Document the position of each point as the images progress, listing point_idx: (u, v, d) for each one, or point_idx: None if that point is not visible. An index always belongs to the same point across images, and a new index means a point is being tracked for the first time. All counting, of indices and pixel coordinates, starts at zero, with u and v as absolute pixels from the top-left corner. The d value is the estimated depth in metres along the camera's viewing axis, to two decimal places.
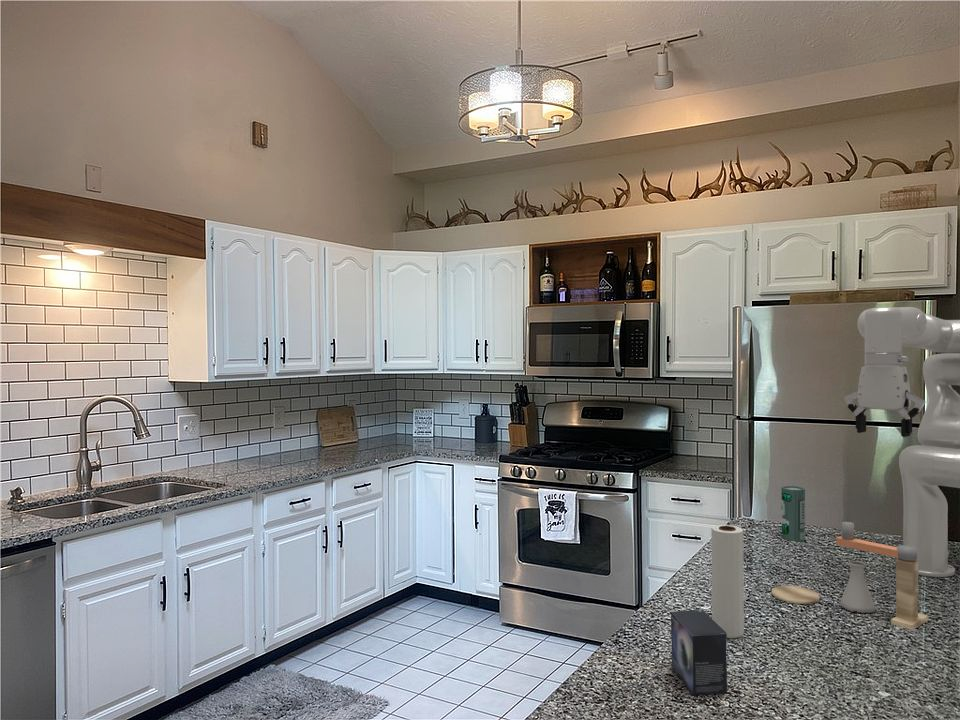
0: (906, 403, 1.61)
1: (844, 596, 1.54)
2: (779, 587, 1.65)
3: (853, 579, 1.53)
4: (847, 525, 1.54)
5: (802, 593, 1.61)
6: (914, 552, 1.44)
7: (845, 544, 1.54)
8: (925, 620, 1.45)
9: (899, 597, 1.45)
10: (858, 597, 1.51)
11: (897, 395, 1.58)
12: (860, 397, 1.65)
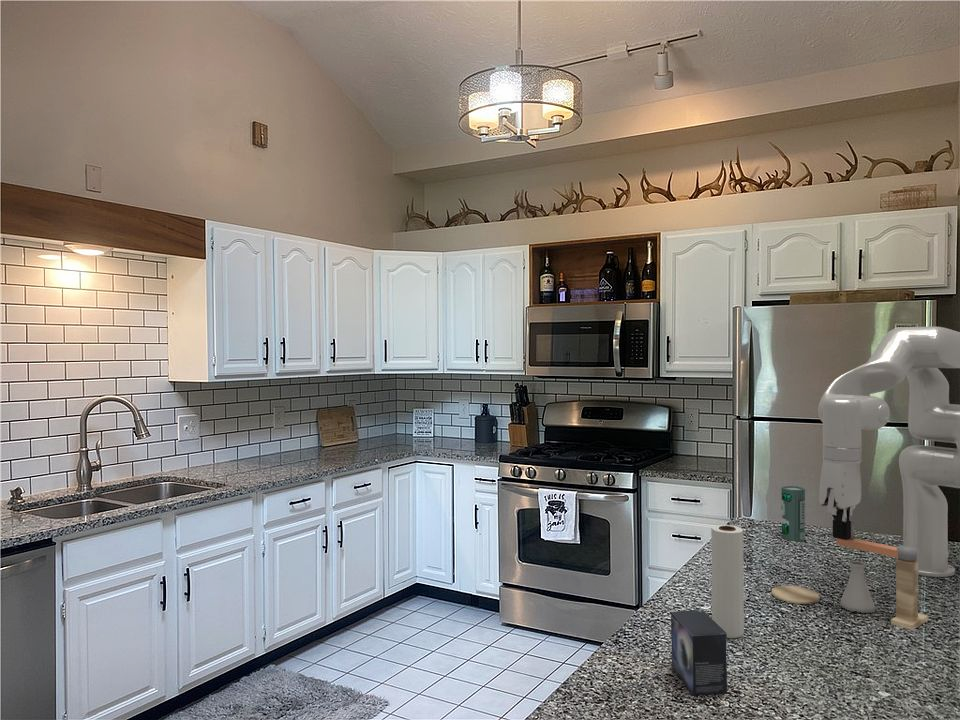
0: None
1: (844, 596, 1.54)
2: (779, 587, 1.65)
3: (853, 579, 1.53)
4: None
5: (802, 593, 1.61)
6: (914, 552, 1.44)
7: (845, 544, 1.54)
8: (925, 620, 1.45)
9: (899, 597, 1.45)
10: (858, 597, 1.51)
11: (860, 489, 1.53)
12: (842, 498, 1.49)
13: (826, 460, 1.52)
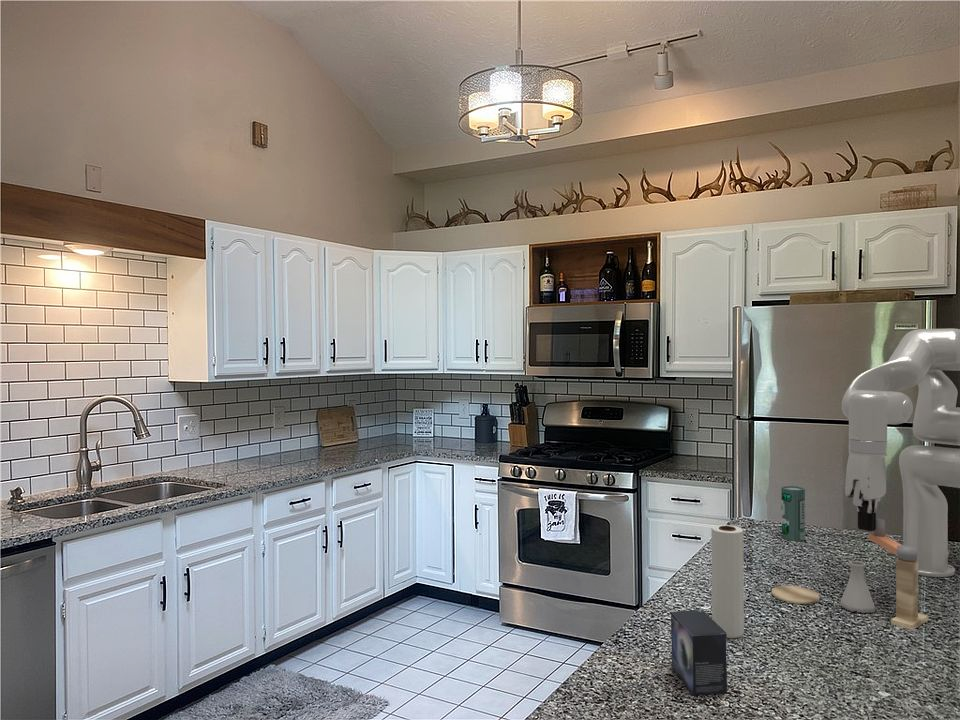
0: None
1: (844, 596, 1.54)
2: (779, 587, 1.65)
3: (853, 579, 1.53)
4: None
5: (802, 593, 1.61)
6: (908, 552, 1.44)
7: (873, 539, 1.57)
8: (925, 620, 1.45)
9: (899, 597, 1.45)
10: (858, 597, 1.51)
11: (885, 482, 1.57)
12: (868, 489, 1.52)
13: (852, 453, 1.56)
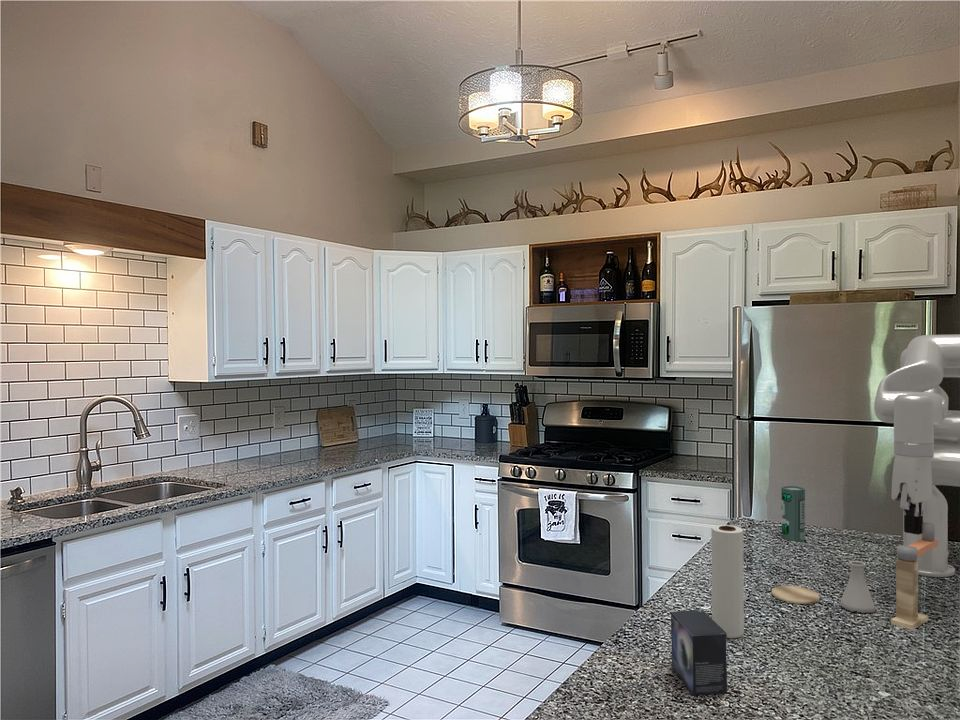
0: None
1: (844, 596, 1.54)
2: (779, 587, 1.65)
3: (853, 579, 1.53)
4: None
5: (802, 593, 1.61)
6: (900, 550, 1.45)
7: None
8: (925, 620, 1.45)
9: (899, 597, 1.45)
10: (858, 597, 1.51)
11: (931, 484, 1.55)
12: (916, 493, 1.51)
13: (898, 456, 1.54)
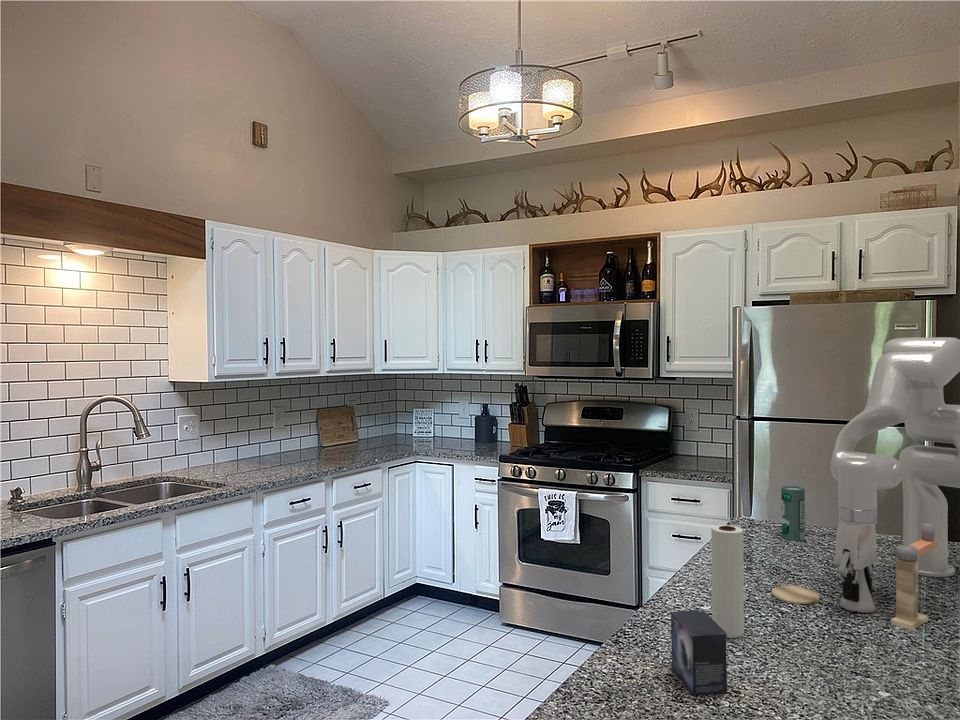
0: None
1: None
2: (779, 587, 1.65)
3: None
4: None
5: (802, 593, 1.61)
6: (900, 550, 1.45)
7: None
8: (925, 620, 1.45)
9: (899, 597, 1.45)
10: (859, 597, 1.51)
11: (875, 548, 1.54)
12: (858, 560, 1.49)
13: (842, 521, 1.53)
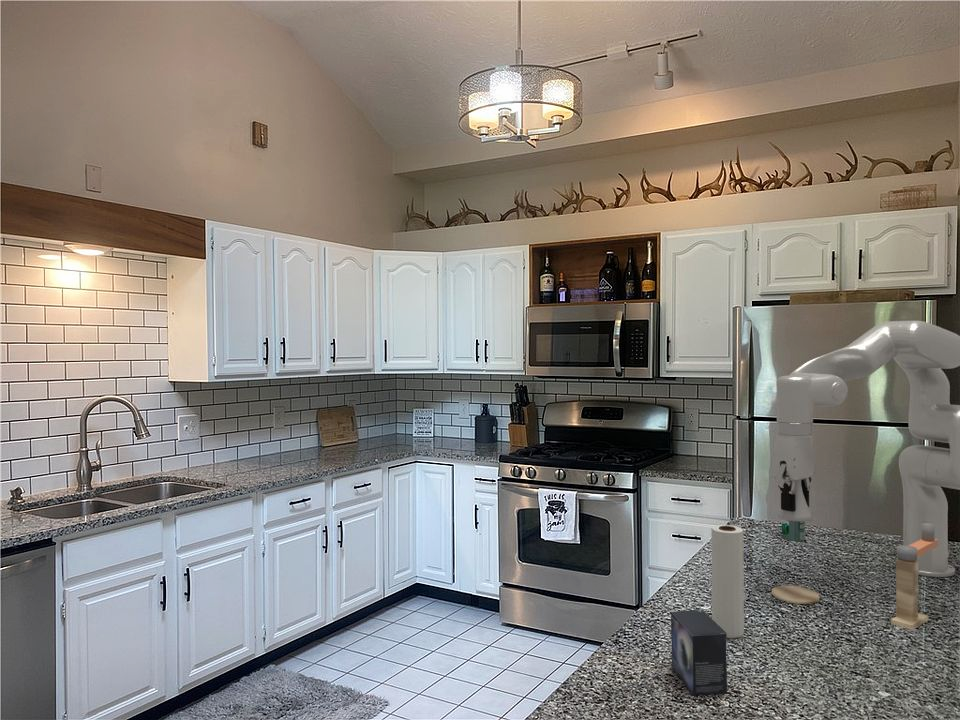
0: None
1: None
2: (779, 587, 1.65)
3: None
4: None
5: (802, 593, 1.61)
6: (900, 550, 1.45)
7: None
8: (925, 620, 1.45)
9: (899, 597, 1.45)
10: None
11: (812, 462, 1.61)
12: (794, 470, 1.56)
13: (779, 435, 1.59)
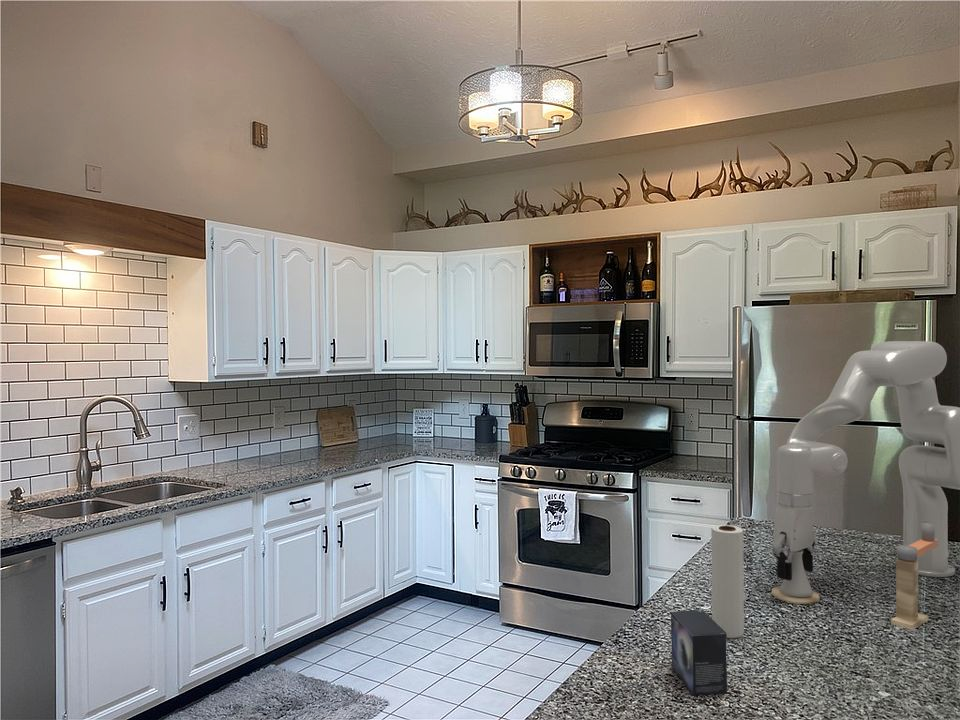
0: None
1: (783, 582, 1.61)
2: (779, 587, 1.65)
3: (792, 565, 1.60)
4: None
5: None
6: (900, 550, 1.45)
7: None
8: (925, 620, 1.45)
9: (899, 597, 1.45)
10: (796, 583, 1.59)
11: (812, 532, 1.61)
12: (794, 542, 1.56)
13: (780, 505, 1.60)
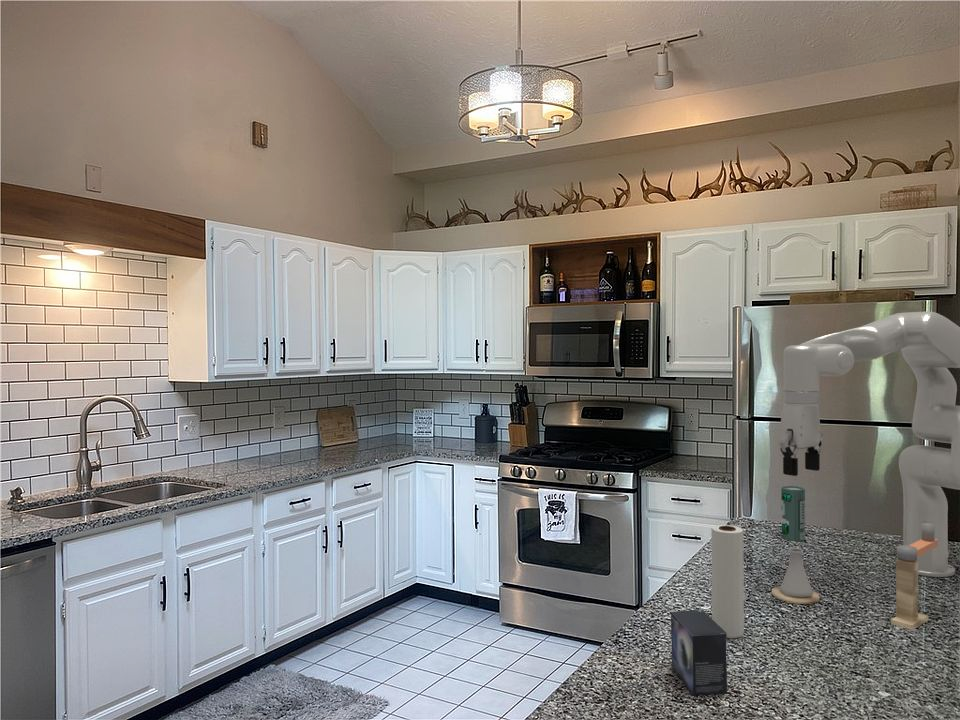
0: None
1: (783, 582, 1.61)
2: (779, 587, 1.65)
3: (792, 565, 1.60)
4: None
5: None
6: (900, 550, 1.45)
7: None
8: (925, 620, 1.45)
9: (899, 597, 1.45)
10: (796, 583, 1.59)
11: (818, 431, 1.63)
12: (801, 438, 1.58)
13: (786, 404, 1.61)
